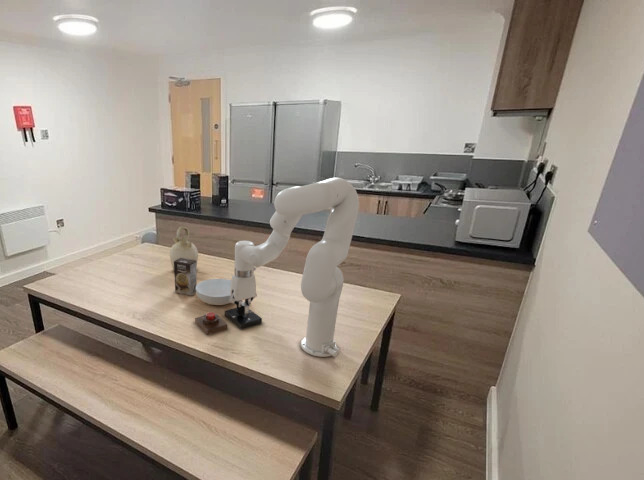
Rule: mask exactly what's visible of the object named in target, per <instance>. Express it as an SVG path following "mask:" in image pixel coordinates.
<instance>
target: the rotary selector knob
mask: <svg viewBox="0 0 644 480" xmlns="http://www.w3.org/2000/svg"><path fill="white" fill-rule="evenodd" d="M244 302H245V301H244V300H242V303H241V306H242V316H243V317H244V318H246V317H249V309H250V306H249V305H247V304H246V303H244Z"/></svg>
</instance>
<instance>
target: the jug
mask: <svg viewBox="0 0 644 480" xmlns="http://www.w3.org/2000/svg"><path fill="white" fill-rule="evenodd" d="M183 230H184V232H185V235H184V237H181V232H182V231H183ZM189 237H190V230H189V228H188V227H186V226H180V227H178V229H177V231H176V237H173V238H172V241H173V242H174V244H173V245H171V248H170V250H169V259H170V263H171V267H172V270H173V271H174V261H175V260H177V259H179V258H185V259H190V260H196V268H197V267H198V262H199V261H198V260H199V251H198V248H197V247H196V245H195V244H194V243H193V242H192V241H188V239H189Z"/></svg>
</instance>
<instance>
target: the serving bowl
mask: <svg viewBox="0 0 644 480" xmlns="http://www.w3.org/2000/svg"><path fill="white" fill-rule="evenodd" d="M231 280H232V279H227V278H209V279H205V280H201V281H200V282H197V285H196V292H195V293H196V296H197V297H198V299H199V300H200V301H202V302H203V303H205V304H208V305H213V306H224V305H228V304H231V303H230V302H229V300H230V286H231ZM234 300H235V299H234Z"/></svg>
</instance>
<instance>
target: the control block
mask: <svg viewBox="0 0 644 480" xmlns="http://www.w3.org/2000/svg"><path fill="white" fill-rule="evenodd" d="M206 314H207V313H205V314H204V315H201V316H198V317H195V318H194V324H196V325H197V327H199V328H200V329H201V330H202V331H203V332H204V333H205V334H206V335H212V334H216V333H219V332H222V331H225V330H228V324H227V322H225V321H224V320H223V319H222V318H221V317H220V316H219V314H217V313H215V319H213V320H208V319H207V318H206Z"/></svg>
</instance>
